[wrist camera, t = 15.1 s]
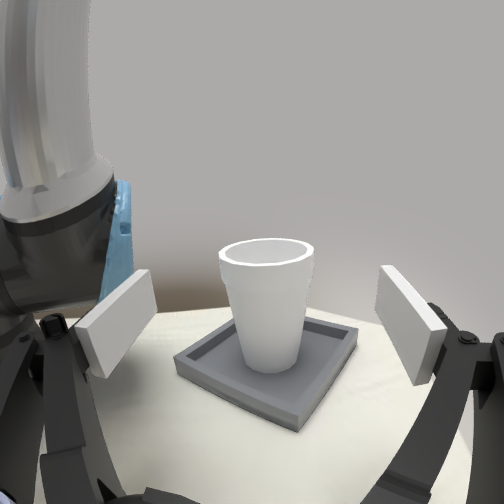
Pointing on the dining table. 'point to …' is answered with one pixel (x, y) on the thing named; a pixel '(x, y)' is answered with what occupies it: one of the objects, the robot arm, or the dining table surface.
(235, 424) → the dining table surface
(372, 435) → the dining table surface
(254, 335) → the foam cup
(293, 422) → the serving tray
